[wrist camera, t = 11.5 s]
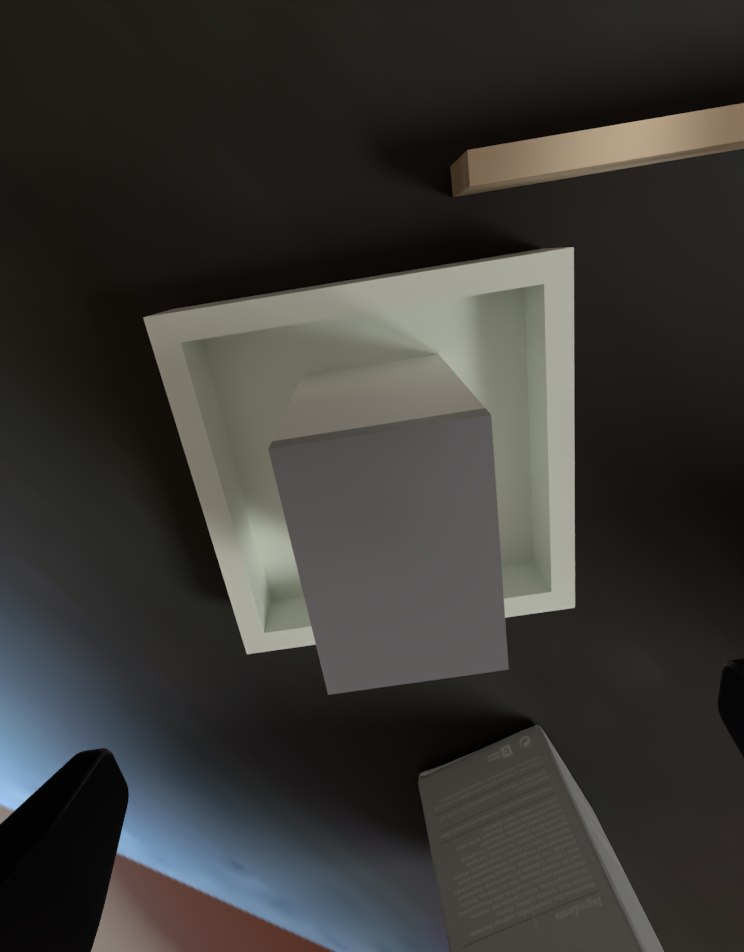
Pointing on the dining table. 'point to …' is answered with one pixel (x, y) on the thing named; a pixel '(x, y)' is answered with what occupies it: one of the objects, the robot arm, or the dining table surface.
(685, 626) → the dining table surface
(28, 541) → the dining table surface
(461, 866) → the skincare box
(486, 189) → the frame
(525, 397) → the tray
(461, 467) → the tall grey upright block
